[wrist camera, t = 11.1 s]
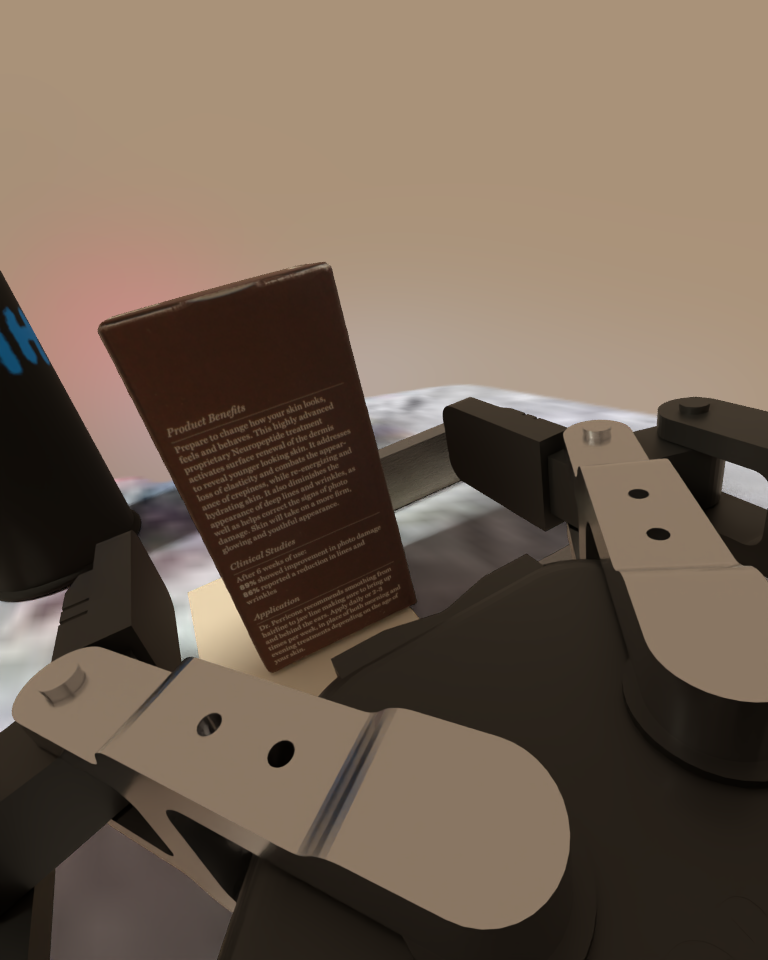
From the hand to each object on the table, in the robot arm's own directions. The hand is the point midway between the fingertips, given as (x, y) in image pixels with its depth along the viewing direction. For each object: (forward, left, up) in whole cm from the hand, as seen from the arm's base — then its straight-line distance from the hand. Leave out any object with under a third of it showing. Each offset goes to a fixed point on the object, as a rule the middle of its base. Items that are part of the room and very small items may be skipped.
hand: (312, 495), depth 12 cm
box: (0, +5, -7) cm, 9 cm away
